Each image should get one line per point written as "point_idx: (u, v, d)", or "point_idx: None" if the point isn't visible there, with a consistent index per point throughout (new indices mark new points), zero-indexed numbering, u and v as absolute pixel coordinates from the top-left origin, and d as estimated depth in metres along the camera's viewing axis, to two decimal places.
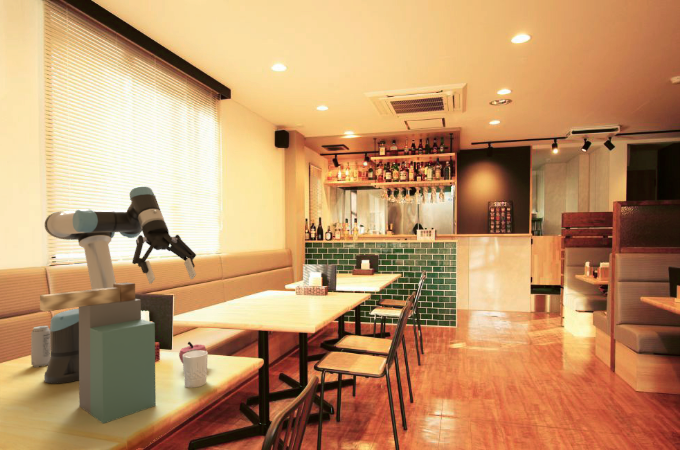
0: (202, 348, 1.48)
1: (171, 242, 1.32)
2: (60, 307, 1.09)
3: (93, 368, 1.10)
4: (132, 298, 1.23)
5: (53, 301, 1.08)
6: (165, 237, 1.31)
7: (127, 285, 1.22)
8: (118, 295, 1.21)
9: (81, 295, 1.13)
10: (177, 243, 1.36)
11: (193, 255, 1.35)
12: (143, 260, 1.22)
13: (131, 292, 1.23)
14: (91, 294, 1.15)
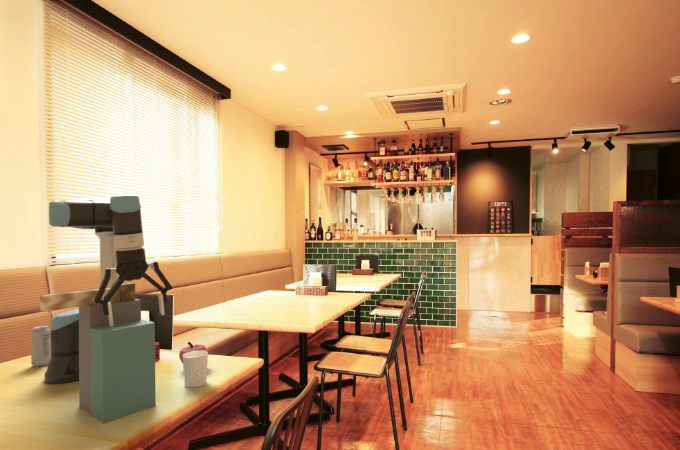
0: (202, 348, 1.48)
1: (144, 275, 1.17)
2: (60, 307, 1.09)
3: (93, 368, 1.10)
4: (132, 298, 1.23)
5: (53, 301, 1.08)
6: (138, 270, 1.16)
7: (127, 285, 1.22)
8: (118, 295, 1.21)
9: (81, 295, 1.13)
10: (154, 270, 1.20)
11: (168, 288, 1.22)
12: (104, 303, 1.11)
13: (131, 292, 1.23)
14: (91, 294, 1.15)
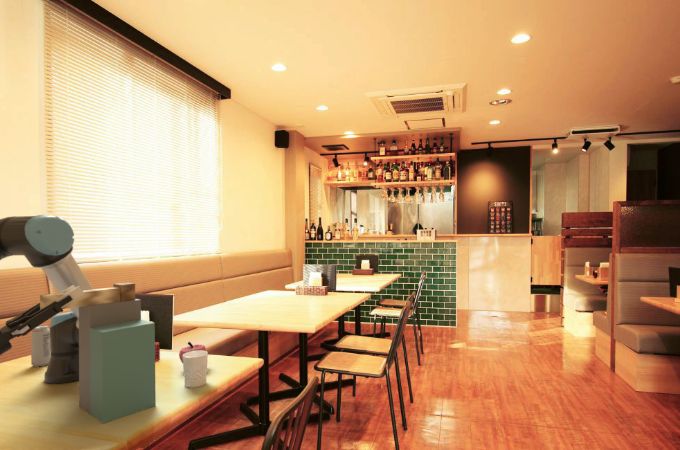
0: (202, 348, 1.48)
1: None
2: None
3: (93, 368, 1.10)
4: (132, 298, 1.23)
5: (53, 301, 1.08)
6: None
7: (127, 285, 1.22)
8: (118, 295, 1.21)
9: None
10: None
11: None
12: None
13: (131, 292, 1.23)
14: (91, 294, 1.15)
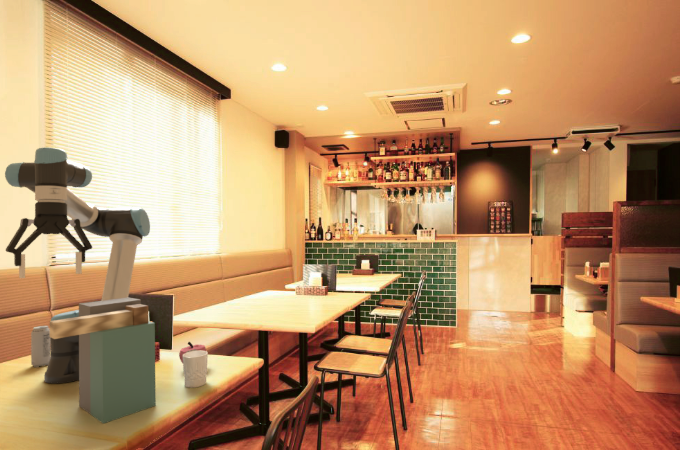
0: (202, 348, 1.48)
1: (64, 230, 1.16)
2: (71, 334, 1.03)
3: (93, 368, 1.10)
4: (145, 321, 1.17)
5: (64, 328, 1.02)
6: (58, 224, 1.15)
7: (140, 308, 1.16)
8: (131, 318, 1.15)
9: (93, 320, 1.07)
10: (75, 228, 1.20)
11: (88, 248, 1.21)
12: (18, 253, 1.08)
13: (144, 315, 1.17)
14: (102, 319, 1.09)
